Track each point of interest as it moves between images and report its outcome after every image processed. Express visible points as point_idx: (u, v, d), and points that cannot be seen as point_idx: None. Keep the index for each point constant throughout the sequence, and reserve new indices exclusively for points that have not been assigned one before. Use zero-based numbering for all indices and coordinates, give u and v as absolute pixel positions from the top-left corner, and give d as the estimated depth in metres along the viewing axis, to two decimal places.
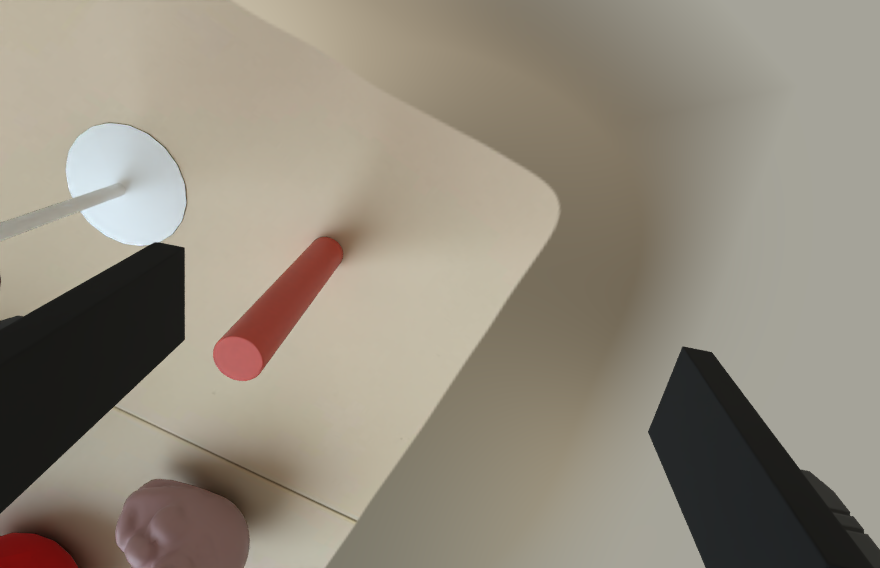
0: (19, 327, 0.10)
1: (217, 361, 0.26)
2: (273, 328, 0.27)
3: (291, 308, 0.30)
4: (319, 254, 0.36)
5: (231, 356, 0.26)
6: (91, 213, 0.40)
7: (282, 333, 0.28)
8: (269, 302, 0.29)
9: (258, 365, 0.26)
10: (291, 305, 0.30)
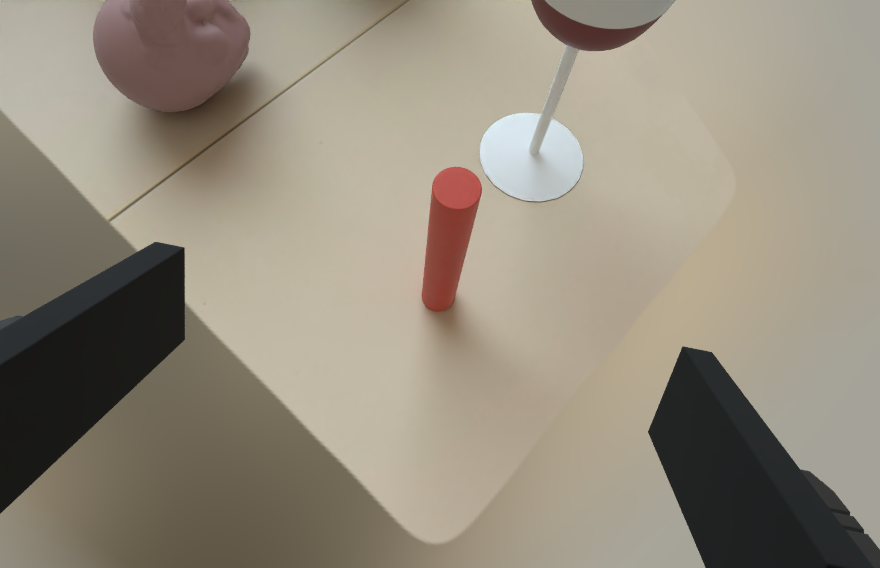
0: (19, 327, 0.10)
1: (457, 169, 0.27)
2: (460, 228, 0.28)
3: (454, 249, 0.31)
4: (454, 289, 0.37)
5: (460, 182, 0.27)
6: (515, 120, 0.47)
7: (448, 233, 0.29)
8: (470, 233, 0.30)
9: (446, 202, 0.26)
10: (456, 250, 0.31)
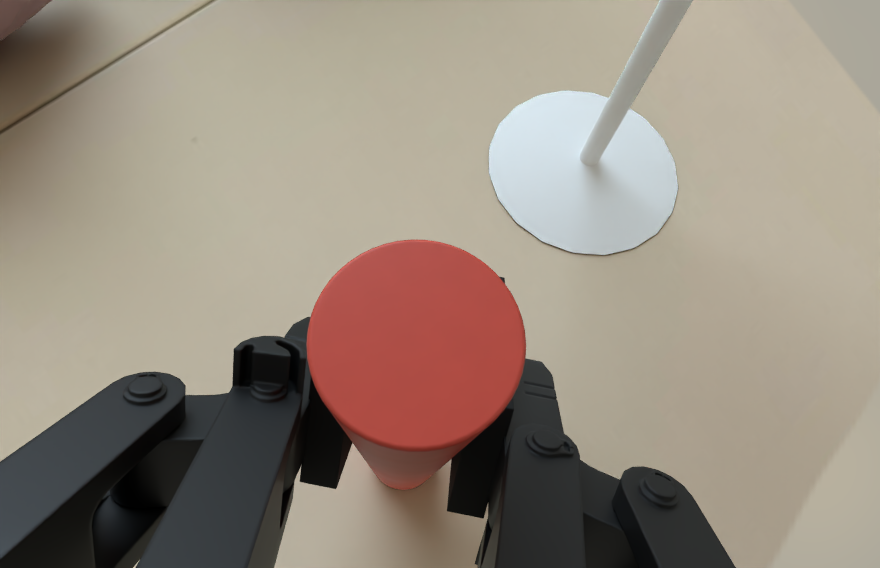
0: None
1: (424, 251, 0.06)
2: (437, 461, 0.07)
3: (421, 473, 0.10)
4: None
5: (434, 313, 0.06)
6: (553, 104, 0.26)
7: (393, 465, 0.08)
8: None
9: (366, 416, 0.06)
10: (429, 471, 0.10)
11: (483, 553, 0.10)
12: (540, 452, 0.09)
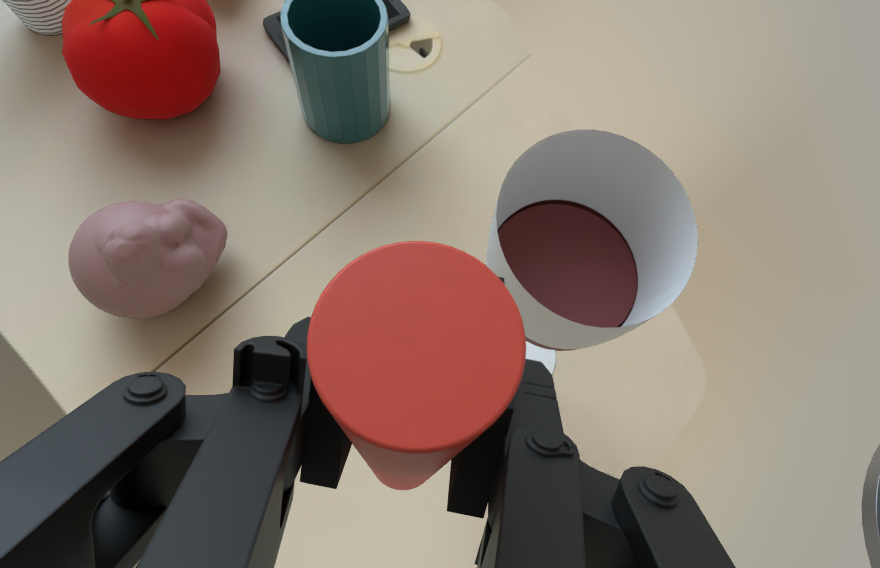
0: None
1: (424, 252, 0.06)
2: (437, 462, 0.07)
3: (421, 473, 0.10)
4: None
5: (434, 314, 0.06)
6: None
7: (393, 466, 0.08)
8: None
9: (367, 417, 0.06)
10: (429, 471, 0.10)
11: (483, 553, 0.10)
12: (540, 452, 0.09)
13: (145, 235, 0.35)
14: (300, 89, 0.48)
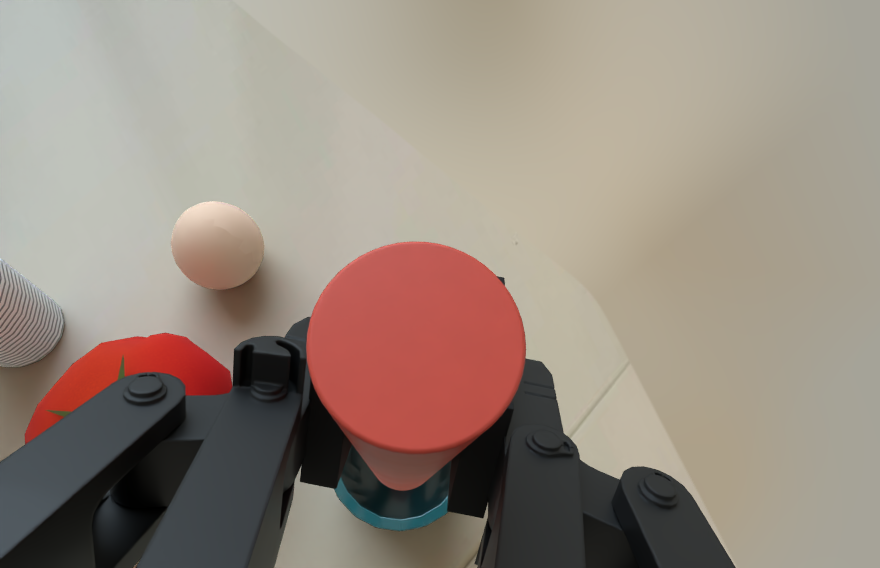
0: None
1: (423, 252, 0.06)
2: (436, 463, 0.07)
3: (421, 474, 0.10)
4: None
5: (434, 315, 0.06)
6: None
7: (392, 467, 0.08)
8: None
9: (366, 418, 0.06)
10: (429, 473, 0.10)
11: (483, 553, 0.10)
12: (540, 452, 0.09)
13: None
14: None
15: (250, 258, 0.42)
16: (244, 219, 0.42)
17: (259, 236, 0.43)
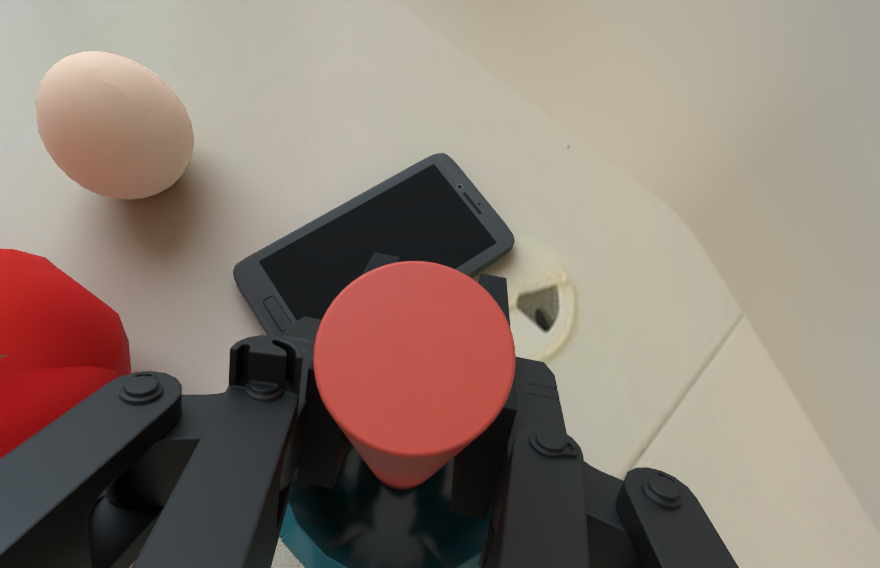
0: None
1: (421, 271, 0.07)
2: (433, 464, 0.08)
3: (420, 476, 0.10)
4: None
5: (430, 329, 0.07)
6: None
7: (392, 469, 0.08)
8: None
9: (368, 425, 0.06)
10: (427, 474, 0.10)
11: (486, 554, 0.10)
12: (542, 453, 0.09)
13: None
14: None
15: (164, 144, 0.27)
16: (154, 81, 0.26)
17: (182, 114, 0.28)
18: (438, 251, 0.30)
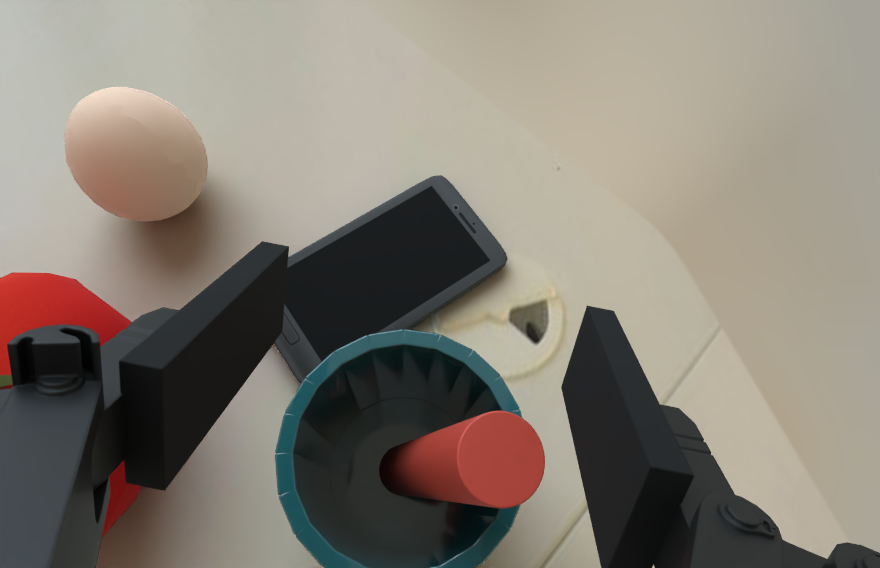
0: (184, 316, 0.11)
1: (502, 417, 0.15)
2: None
3: None
4: None
5: (508, 447, 0.14)
6: None
7: (465, 503, 0.16)
8: None
9: (483, 493, 0.14)
10: None
11: None
12: (733, 526, 0.09)
13: None
14: None
15: (182, 171, 0.29)
16: (173, 113, 0.29)
17: (198, 143, 0.30)
18: (435, 268, 0.32)
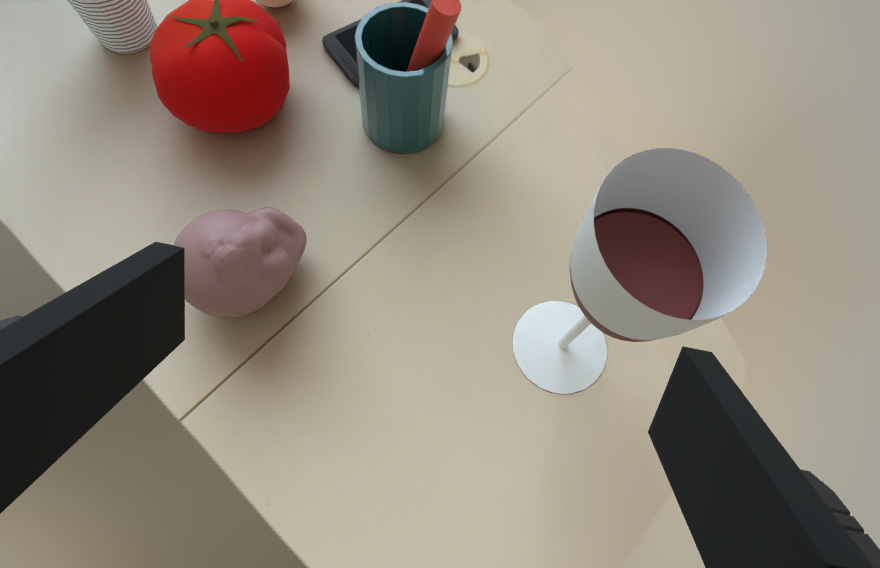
0: (19, 327, 0.10)
1: None
2: (443, 34, 0.45)
3: (433, 55, 0.47)
4: None
5: (449, 1, 0.44)
6: (545, 310, 0.51)
7: (434, 37, 0.46)
8: (445, 45, 0.47)
9: (440, 10, 0.43)
10: (434, 56, 0.48)
11: None
12: None
13: (251, 241, 0.39)
14: (367, 104, 0.52)
15: None
16: None
17: None
18: None
